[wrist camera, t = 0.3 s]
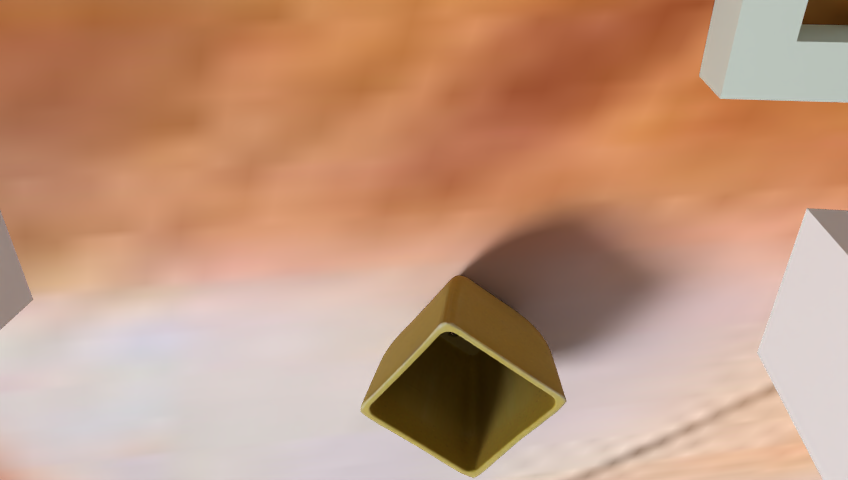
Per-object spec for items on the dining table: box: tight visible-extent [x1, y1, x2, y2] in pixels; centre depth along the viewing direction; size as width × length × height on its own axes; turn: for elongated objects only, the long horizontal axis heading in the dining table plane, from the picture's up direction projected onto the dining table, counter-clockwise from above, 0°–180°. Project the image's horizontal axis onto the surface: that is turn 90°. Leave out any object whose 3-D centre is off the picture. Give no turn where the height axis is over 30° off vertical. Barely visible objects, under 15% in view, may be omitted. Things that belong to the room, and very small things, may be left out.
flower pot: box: [361, 275, 566, 478], centre depth 41 cm, size 9×9×9 cm
